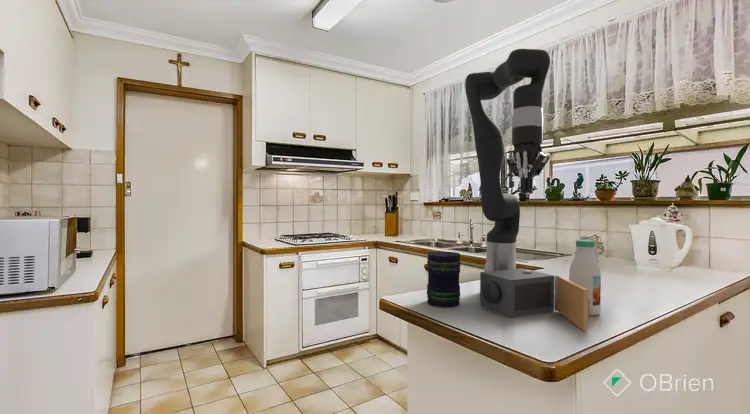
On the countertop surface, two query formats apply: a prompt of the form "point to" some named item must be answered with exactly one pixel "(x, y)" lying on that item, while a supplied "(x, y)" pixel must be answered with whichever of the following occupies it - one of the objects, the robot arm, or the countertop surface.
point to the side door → (572, 301)
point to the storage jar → (443, 279)
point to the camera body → (517, 292)
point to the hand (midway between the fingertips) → (526, 192)
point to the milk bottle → (587, 273)
